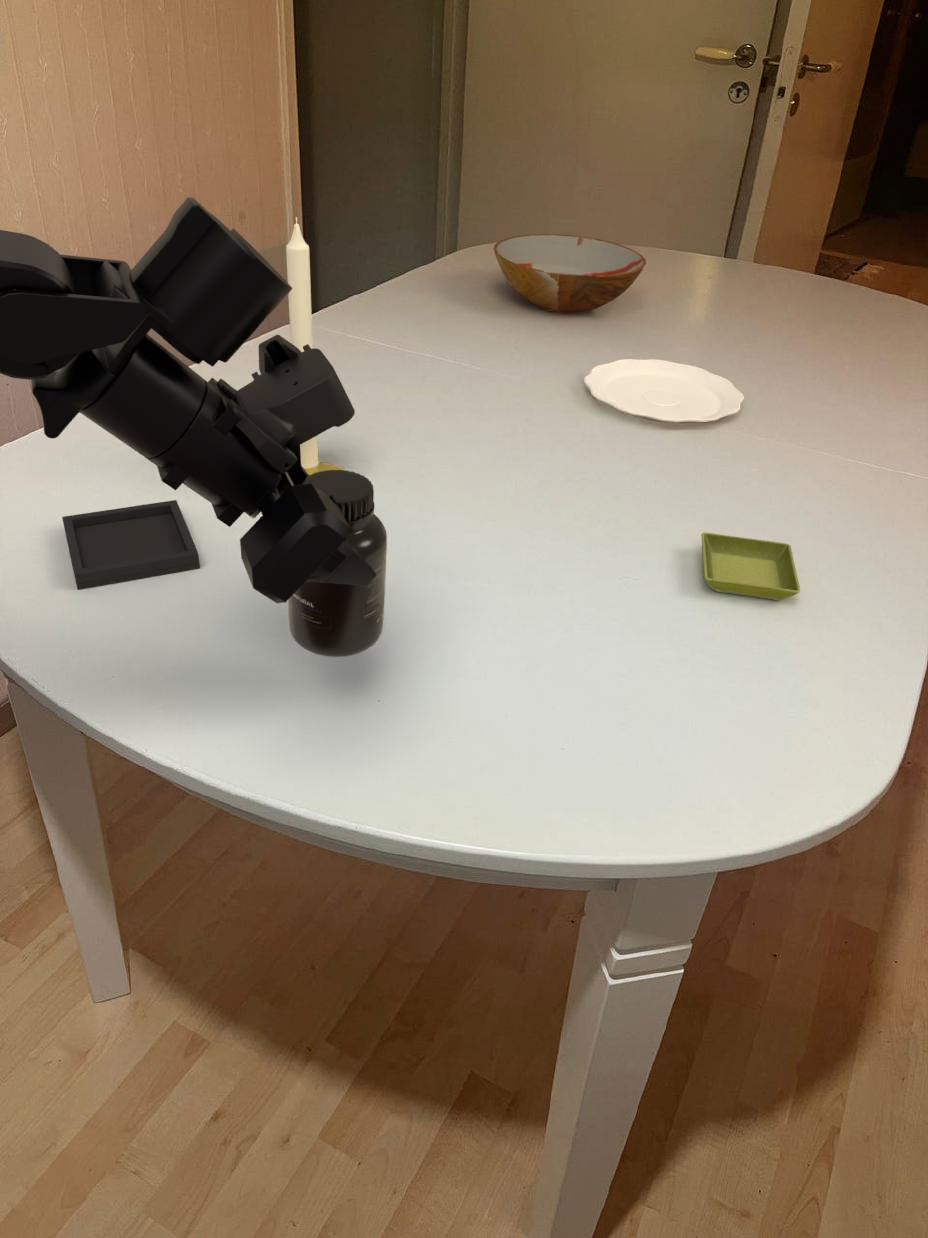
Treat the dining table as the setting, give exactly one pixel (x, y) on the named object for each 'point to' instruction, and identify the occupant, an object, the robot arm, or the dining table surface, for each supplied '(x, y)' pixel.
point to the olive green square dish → (749, 566)
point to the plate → (663, 391)
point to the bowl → (567, 270)
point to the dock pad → (129, 544)
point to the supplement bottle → (342, 611)
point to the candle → (302, 327)
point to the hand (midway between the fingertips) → (355, 552)
